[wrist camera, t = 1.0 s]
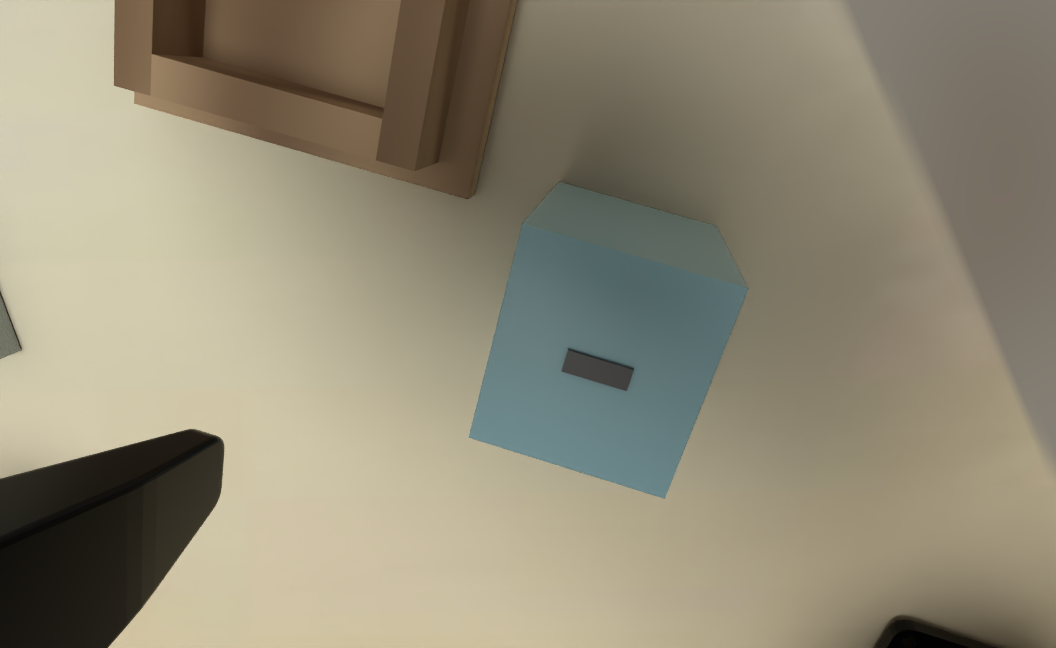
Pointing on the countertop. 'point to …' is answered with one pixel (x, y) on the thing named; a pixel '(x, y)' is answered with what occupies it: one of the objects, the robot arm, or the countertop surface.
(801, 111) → the countertop surface
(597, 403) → the blue drawer box
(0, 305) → the phone
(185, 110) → the dock
